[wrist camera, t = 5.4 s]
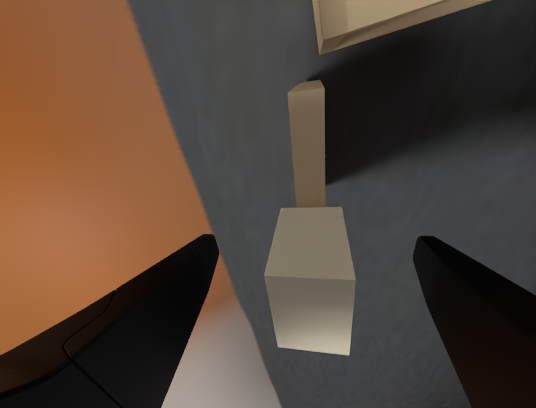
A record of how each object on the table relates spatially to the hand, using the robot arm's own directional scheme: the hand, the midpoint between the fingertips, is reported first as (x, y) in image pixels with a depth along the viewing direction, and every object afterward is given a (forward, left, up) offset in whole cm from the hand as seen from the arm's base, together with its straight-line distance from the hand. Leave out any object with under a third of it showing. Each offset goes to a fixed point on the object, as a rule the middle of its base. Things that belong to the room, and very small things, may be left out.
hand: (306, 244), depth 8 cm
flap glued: (-2, 0, -7) cm, 7 cm away
